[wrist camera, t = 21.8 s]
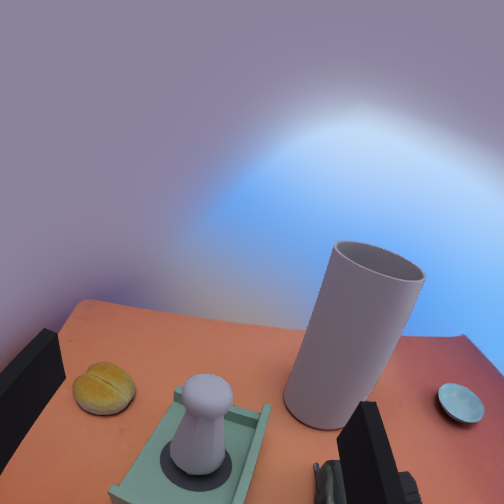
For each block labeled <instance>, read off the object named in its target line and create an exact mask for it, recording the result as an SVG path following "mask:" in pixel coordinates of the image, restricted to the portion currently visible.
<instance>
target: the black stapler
mask: <svg viewBox="0 0 504 504" xmlns="http://www.w3.org/2000/svg"><path fill="white" fill-rule="evenodd" d="M314 471H315V475H316V482H317V493H316V504H347V501H346V495H345V488H344V482H343V475H342V469H341V463H340V460H329V461H326V462H325V463H324V464H323V466H322V467H321V469H319V464H318V463H314Z"/></svg>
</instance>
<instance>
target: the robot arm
mask: <svg viewBox="0 0 504 504" xmlns="http://www.w3.org/2000/svg"><path fill="white" fill-rule="evenodd" d="M65 379H66V376H65V371H64V366H63V362H62V357H61V351H60V346H59V340H58V334H57V333H55V332H53V331H50V330H48V329H45V328H44V329H43V330H42V331H41V332H40V333H39V334H38V335H37V336H36V337H35V338H34V339H33V340H32V341H31V342H30V343H29V344H28V345H27V346H26V347H25V348H24V349H23V350H22V351H21V352H20V353H19V354H18V355H17V356H16V357H15V358H14V359H13V360H12V361H11V363H9V365H8V366H7V367H6V368H5V369H4V370H3V371H2V372H1V373H0V475H1V473H2V472H3V470H4V468H5V467H6V465H7V463H8V462H9V460H10V459H11V457H12V456H13V454H14V452H15V451H16V449H17V448H18V446H19V445H20V443H21V442H22V440H23V439H24V437H25V436H26V434H27V433H28V431H29V430H30V428H31V427H32V425H33V424H34V422H35V421H36V419H37V418H38V416H39V415H40V414H41V412H42V411H43V409H44V408H45V406H46V405H47V404H48V402H49V401H50V399H51V398H52V397H53V395H54V394H55V392H56V391H57V390H58V388H59V387H60V386H61V384H62V383H63V381H64V380H65ZM336 440H337V445H338V451H339V457H340V463H341V469H342V475H343V482H344V488H345V495H346V501H347V504H422V502H421V497H420V494H419V493H418V488H417V484H416V481H415V480H414V478H413V477H412V476H411V474H410V473H409V472H408V471H407V472H398V470H397V467H396V463H395V460H394V457H393V453H392V450H391V447H390V444H389V441H388V437H387V434H386V431H385V428H384V425H383V422H382V419H381V416H380V413H379V410H378V407H377V404H376V402H368V401H360V402H359V404H358V406H357V407H356V409H355V411H354V412H353V414H352V415H351V417H350V419H349V420H348V422H347V423H346V425H345V427H344V428H343V430H342V431H341V433H340V434H339V436H338V437H337V439H336Z"/></svg>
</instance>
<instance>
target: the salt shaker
mask: <svg viewBox="0 0 504 504" xmlns="http://www.w3.org/2000/svg"><path fill="white" fill-rule="evenodd" d="M232 401H233V393H232V389H231V386H230V385H229V384H228V383H227V382H226V381H225V380H224V379H222V378H220V377H219V376H217V375H213V374H209V373H205V374H196V375H194V376H192V377H190V378H188V379H187V381H186V382H185V384H184V386H183V388H182V403H183V405H184V407H185V408H186V410H185V413H184V415H183V417H182V419H181V422H180V424H179V426H178V428H177V430H176V433H175V435H174V437H173V439H172V441H171V443H170V456H171V458H172V459H173V461H174V463H175V464H176V466H178V467H179V468H181V469H182V470H184V471H185V472H186V473H187V474H188V475H207V474H210V473H212V472H213V471H215V470H216V469H218V468H219V467H220V466H221V464H222V462H223V460H224V458H225V439H224V415H225V414H226V413H227V412H228V410H229V408H230V406H231V404H232Z"/></svg>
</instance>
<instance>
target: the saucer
mask: <svg viewBox="0 0 504 504" xmlns="http://www.w3.org/2000/svg"><path fill="white" fill-rule="evenodd" d="M439 400H440V403H441V405H442V407H443V409H444V411H445V412H446V413H447V414H448V415H449V416H450V417H452V418H453V419H455V420H457V421H460V422H464V423H473V422H477V421H480V420H481V419H482V418H483V416H484V406H483V404H482V402H481V400H480V399H479V398H478V397H477V395H475V394H474V393H473V392H472V391H471V390H469V389H468V388H466V387H464V386H461V385H458V384H454V383H447V384H444V385H442V386H441V387H440V389H439Z"/></svg>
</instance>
